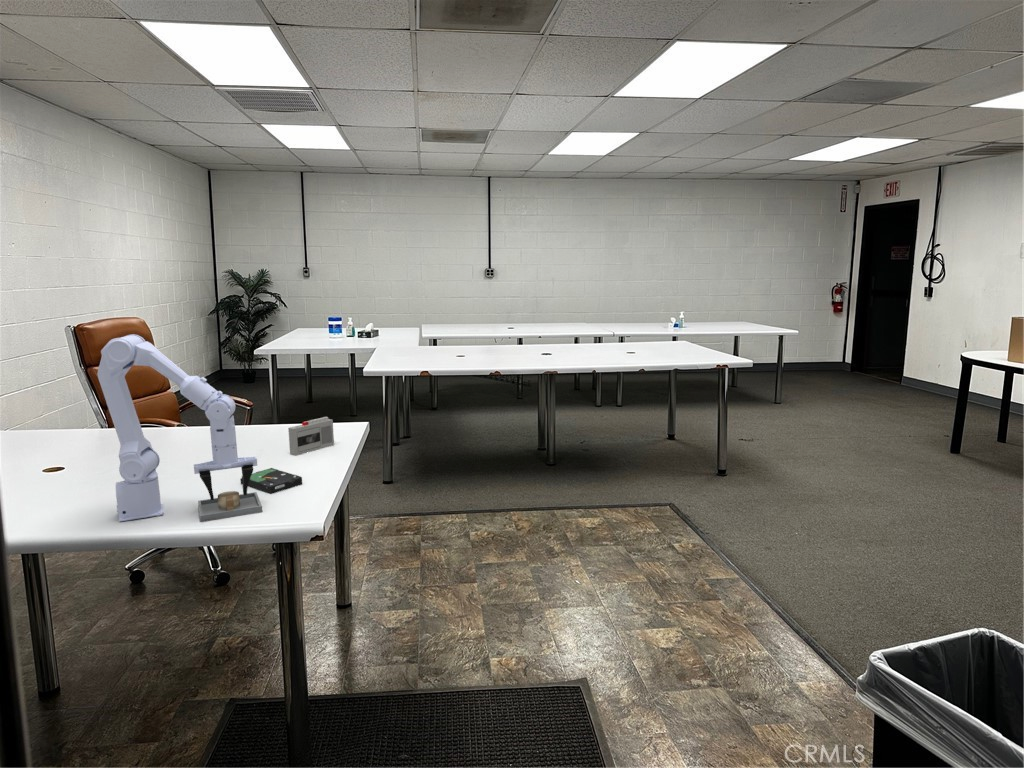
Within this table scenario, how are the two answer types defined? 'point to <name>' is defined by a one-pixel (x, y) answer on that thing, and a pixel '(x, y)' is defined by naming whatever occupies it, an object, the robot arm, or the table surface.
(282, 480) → the disk drive
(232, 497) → the tabbed cylinder
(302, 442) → the cassette player
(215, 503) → the tray
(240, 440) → the table surface
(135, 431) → the robot arm
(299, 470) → the table surface
